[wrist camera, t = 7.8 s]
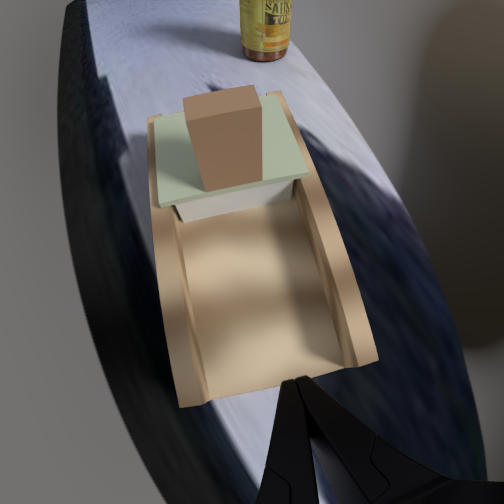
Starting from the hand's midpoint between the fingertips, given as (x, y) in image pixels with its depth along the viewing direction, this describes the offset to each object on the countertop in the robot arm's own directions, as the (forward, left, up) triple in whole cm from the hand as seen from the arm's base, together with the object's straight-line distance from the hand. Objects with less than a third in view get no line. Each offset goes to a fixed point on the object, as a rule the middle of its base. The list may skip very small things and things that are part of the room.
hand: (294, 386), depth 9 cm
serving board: (+8, +8, -13) cm, 17 cm away
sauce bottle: (+32, +20, -13) cm, 41 cm away
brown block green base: (+12, +12, -9) cm, 19 cm away
